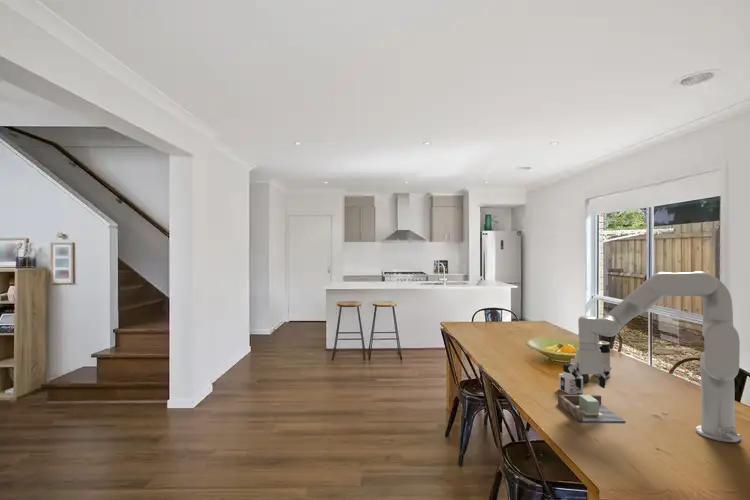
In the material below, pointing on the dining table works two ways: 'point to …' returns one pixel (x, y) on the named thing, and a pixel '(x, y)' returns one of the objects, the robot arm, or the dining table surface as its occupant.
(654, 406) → the dining table surface
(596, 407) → the sage block
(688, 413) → the dining table surface
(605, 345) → the travel mug
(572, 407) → the shallow tray
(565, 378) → the container
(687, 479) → the dining table surface
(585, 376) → the character mug
